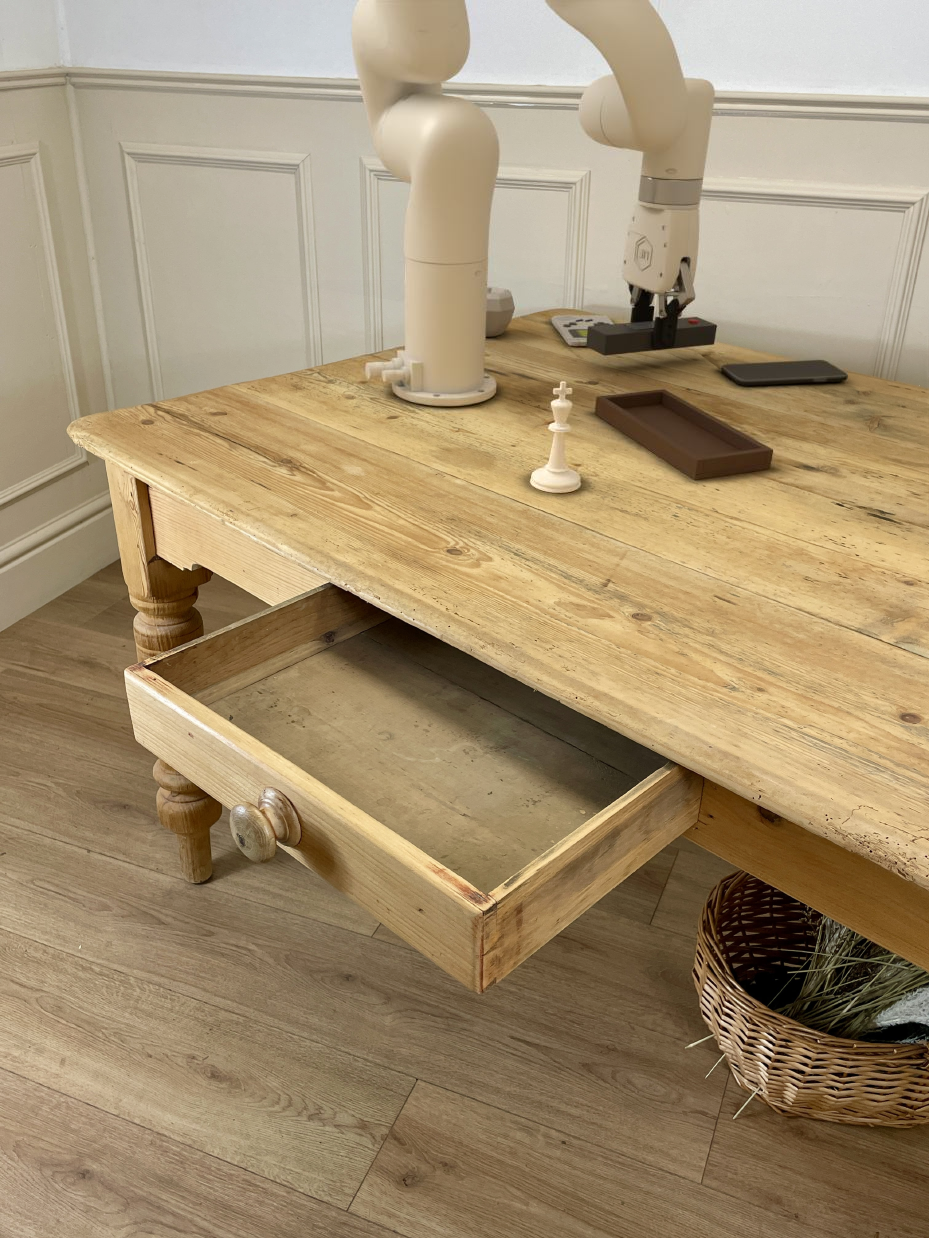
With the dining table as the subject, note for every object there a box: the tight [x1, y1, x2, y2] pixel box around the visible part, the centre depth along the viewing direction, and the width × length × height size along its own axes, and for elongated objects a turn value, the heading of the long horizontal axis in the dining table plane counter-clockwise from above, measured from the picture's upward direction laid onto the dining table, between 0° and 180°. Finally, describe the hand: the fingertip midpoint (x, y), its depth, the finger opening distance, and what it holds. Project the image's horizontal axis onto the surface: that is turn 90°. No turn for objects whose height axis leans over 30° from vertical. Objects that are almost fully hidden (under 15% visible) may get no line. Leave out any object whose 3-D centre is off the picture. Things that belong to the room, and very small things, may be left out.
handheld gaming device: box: [551, 314, 615, 347], centre depth 145 cm, size 9×1×15 cm
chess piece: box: [529, 380, 582, 494], centre depth 94 cm, size 5×5×10 cm
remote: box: [585, 316, 718, 357], centre depth 130 cm, size 17×5×3 cm, turn 114°
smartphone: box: [720, 359, 849, 387], centre depth 129 cm, size 7×1×15 cm
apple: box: [485, 286, 516, 337], centre depth 142 cm, size 8×8×7 cm
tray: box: [594, 388, 774, 481], centre depth 107 cm, size 9×21×2 cm, turn 22°
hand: (651, 341), depth 130 cm, fingers closed on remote, 4 cm apart
